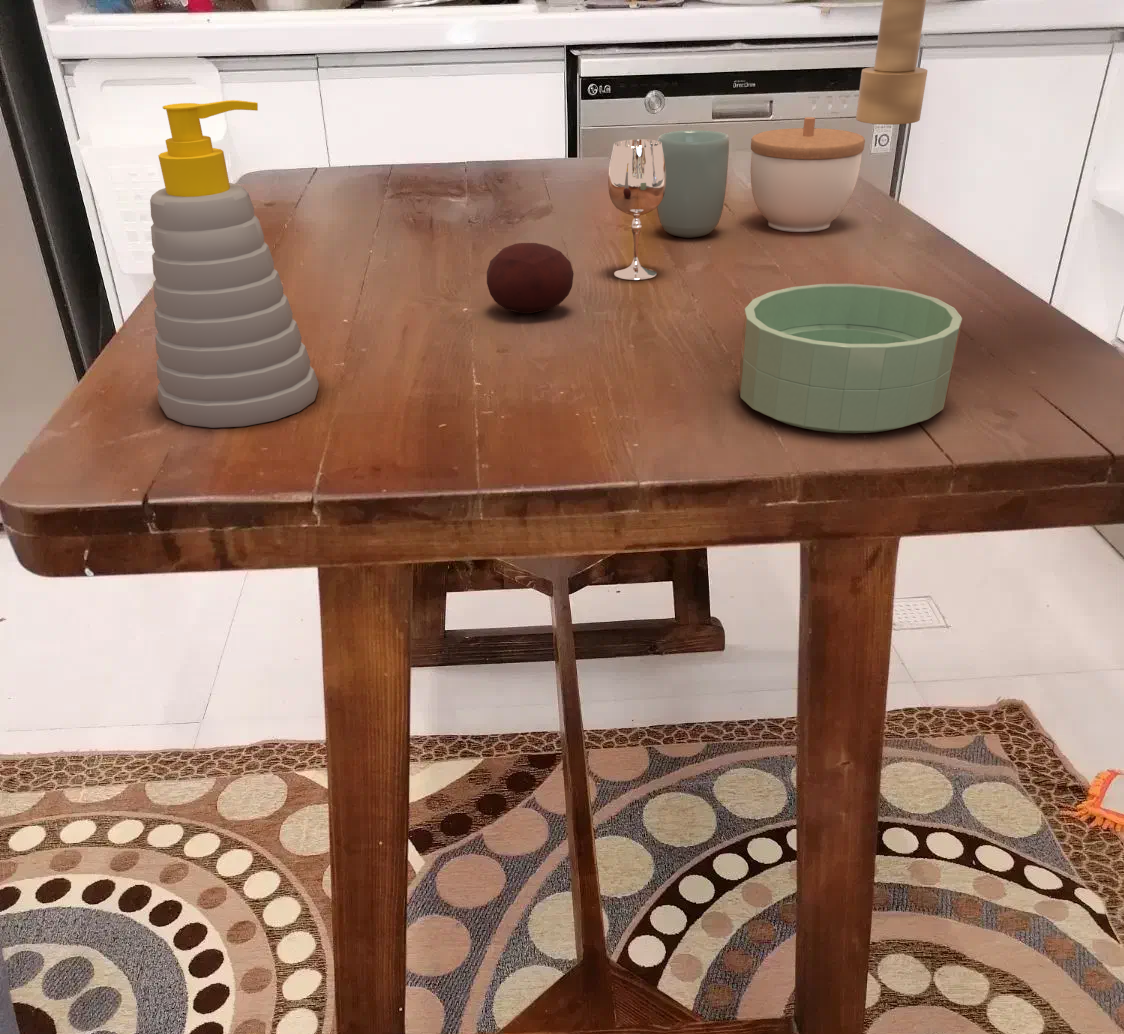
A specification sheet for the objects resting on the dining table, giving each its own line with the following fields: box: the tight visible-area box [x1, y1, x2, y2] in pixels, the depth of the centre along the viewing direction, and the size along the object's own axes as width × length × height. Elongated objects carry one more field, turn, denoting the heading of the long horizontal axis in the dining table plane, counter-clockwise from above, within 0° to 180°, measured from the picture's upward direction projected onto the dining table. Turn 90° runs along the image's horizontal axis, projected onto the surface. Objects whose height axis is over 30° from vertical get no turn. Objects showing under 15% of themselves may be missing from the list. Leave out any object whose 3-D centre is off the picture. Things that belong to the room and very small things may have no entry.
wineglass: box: [607, 138, 667, 281], centre depth 110 cm, size 6×6×12 cm
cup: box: [656, 129, 730, 239], centre depth 124 cm, size 8×8×10 cm
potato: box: [486, 242, 575, 314], centre depth 102 cm, size 7×8×6 cm
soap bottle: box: [149, 99, 320, 429], centre depth 81 cm, size 12×12×20 cm
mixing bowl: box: [738, 283, 963, 434], centre depth 82 cm, size 15×15×6 cm
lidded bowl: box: [750, 116, 866, 233], centre depth 126 cm, size 13×13×11 cm
